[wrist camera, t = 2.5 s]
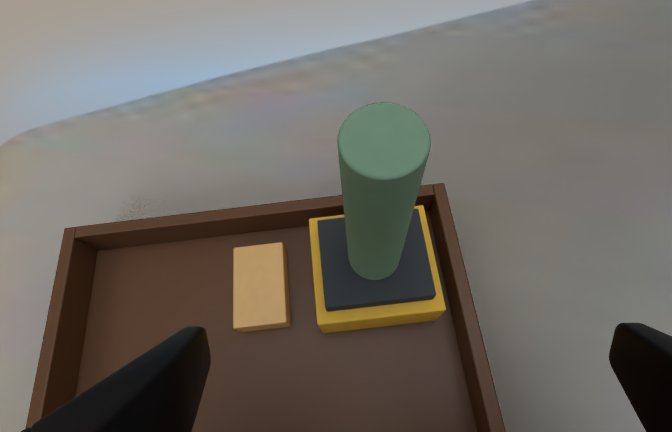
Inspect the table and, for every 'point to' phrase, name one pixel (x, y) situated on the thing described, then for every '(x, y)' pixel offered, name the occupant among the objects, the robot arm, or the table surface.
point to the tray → (263, 345)
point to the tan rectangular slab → (260, 287)
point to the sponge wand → (377, 228)
